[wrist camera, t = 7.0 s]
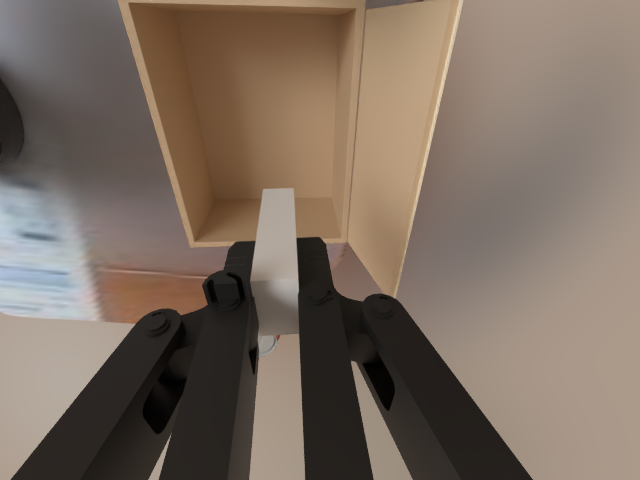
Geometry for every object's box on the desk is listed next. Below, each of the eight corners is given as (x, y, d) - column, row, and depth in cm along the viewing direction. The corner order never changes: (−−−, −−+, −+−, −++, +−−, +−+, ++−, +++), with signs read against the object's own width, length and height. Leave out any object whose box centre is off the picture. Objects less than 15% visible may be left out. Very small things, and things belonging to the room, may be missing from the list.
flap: (389, 302, 23) (395, 300, 23) (455, -4, 13) (464, -3, 13) (347, 241, 30) (351, 240, 30) (366, 9, 19) (373, 9, 19)
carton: (212, 201, 38) (189, 247, 30) (169, 3, 27) (114, -11, 18) (335, 199, 39) (346, 242, 31) (345, 7, 28) (366, -4, 20)
